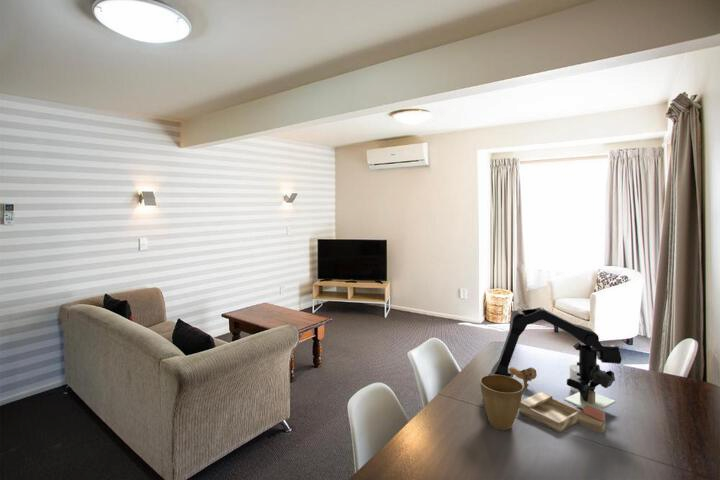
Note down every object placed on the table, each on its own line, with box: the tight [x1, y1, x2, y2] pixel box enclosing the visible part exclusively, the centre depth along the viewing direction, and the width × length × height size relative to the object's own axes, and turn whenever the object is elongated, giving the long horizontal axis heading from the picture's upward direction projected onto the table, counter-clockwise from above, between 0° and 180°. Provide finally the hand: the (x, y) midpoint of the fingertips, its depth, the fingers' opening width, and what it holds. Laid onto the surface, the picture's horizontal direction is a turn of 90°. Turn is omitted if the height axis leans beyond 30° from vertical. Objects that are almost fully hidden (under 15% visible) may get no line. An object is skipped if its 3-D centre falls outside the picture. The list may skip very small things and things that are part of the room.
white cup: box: [569, 364, 581, 394], centre depth 156 cm, size 8×8×10 cm
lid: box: [563, 390, 616, 411], centre depth 140 cm, size 15×11×6 cm
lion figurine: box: [509, 367, 538, 389], centre depth 164 cm, size 15×5×9 cm, turn 48°
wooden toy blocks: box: [518, 391, 606, 434], centre depth 133 cm, size 15×24×4 cm, turn 30°
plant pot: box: [479, 374, 524, 431], centre depth 132 cm, size 15×15×16 cm
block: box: [583, 405, 606, 421], centre depth 128 cm, size 2×6×2 cm, turn 30°
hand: (587, 400), depth 139 cm, fingers closed on lid, 2 cm apart
